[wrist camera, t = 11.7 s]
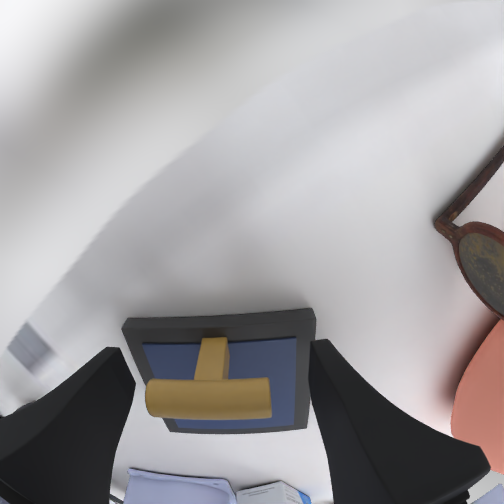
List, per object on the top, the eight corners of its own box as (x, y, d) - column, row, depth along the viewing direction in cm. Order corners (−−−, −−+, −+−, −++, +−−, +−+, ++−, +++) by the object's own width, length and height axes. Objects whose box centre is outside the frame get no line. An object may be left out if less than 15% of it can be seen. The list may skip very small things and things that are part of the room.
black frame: (171, 422, 14) (159, 480, 10) (127, 317, 11) (86, 386, 7) (305, 418, 14) (316, 479, 10) (312, 307, 11) (340, 385, 7)
